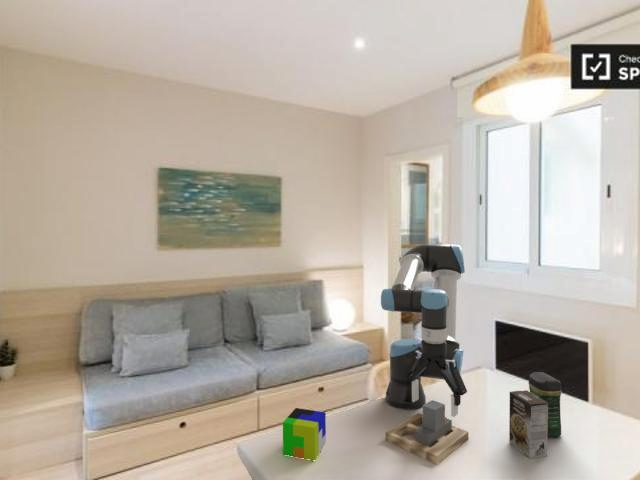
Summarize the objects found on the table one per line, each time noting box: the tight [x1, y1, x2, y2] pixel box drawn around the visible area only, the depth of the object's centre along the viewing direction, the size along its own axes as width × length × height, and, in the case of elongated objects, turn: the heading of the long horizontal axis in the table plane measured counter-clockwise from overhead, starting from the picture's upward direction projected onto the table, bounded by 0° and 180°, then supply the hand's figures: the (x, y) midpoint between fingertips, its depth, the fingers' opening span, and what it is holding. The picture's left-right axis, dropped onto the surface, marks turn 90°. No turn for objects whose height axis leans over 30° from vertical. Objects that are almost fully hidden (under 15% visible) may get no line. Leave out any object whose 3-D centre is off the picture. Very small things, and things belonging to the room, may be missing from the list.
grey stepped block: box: [414, 399, 453, 448], centre depth 123 cm, size 4×14×12 cm, turn 133°
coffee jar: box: [528, 371, 562, 439], centre depth 130 cm, size 10×8×19 cm
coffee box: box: [508, 390, 548, 459], centre depth 119 cm, size 9×6×16 cm
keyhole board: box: [384, 412, 469, 465], centre depth 125 cm, size 18×19×2 cm
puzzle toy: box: [282, 407, 327, 461], centre depth 121 cm, size 10×10×10 cm
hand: (434, 407), depth 124 cm, fingers open, 13 cm apart
